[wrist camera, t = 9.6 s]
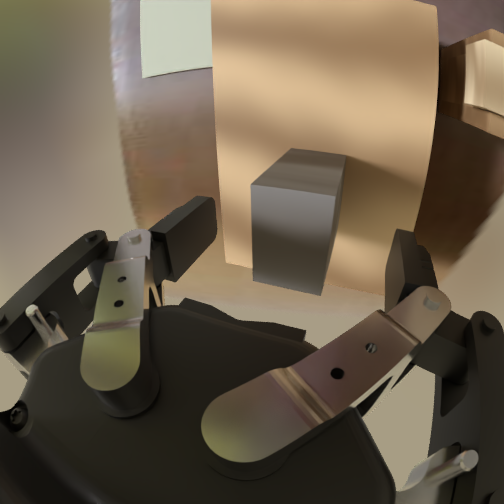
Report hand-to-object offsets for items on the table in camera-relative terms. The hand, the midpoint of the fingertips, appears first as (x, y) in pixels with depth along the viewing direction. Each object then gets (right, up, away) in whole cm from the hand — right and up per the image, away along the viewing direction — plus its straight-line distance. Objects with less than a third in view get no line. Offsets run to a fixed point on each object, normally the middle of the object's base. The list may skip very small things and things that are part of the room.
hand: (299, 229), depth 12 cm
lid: (+2, +5, +3) cm, 6 cm away
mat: (-7, +22, +5) cm, 24 cm away
